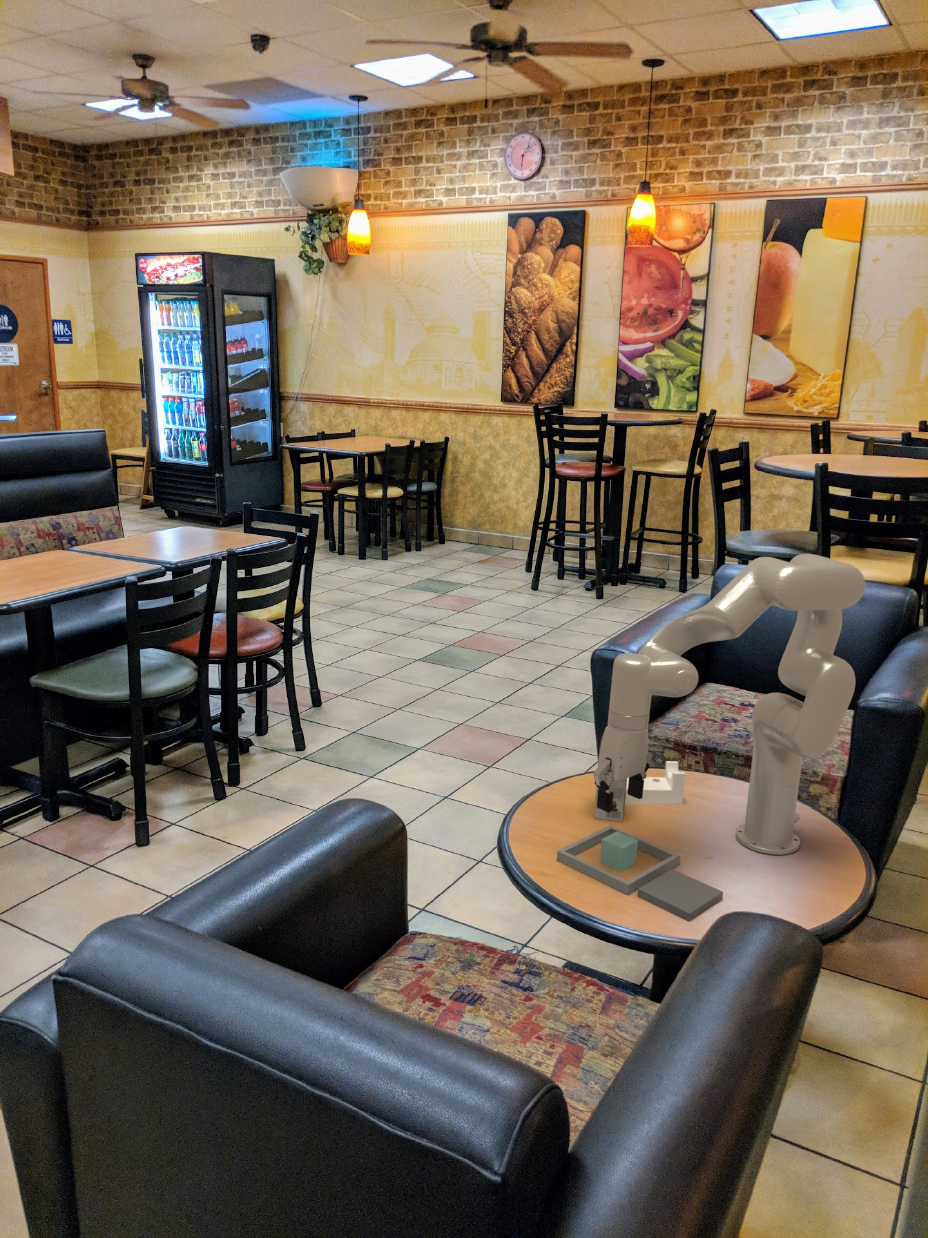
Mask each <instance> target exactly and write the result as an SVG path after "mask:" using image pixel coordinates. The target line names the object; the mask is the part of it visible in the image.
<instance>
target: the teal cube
mask: <svg viewBox="0 0 928 1238" xmlns="http://www.w3.org/2000/svg"><path fill="white" fill-rule="evenodd" d="M600 843H601V844H600V857H599V863H601V864H602V865H605V866H608V867H609V868H612V869H614V870H617V872H620V873H621V872H623V871H625V870H627V869H628V868H630V867H632V866H634V865H636V864H637V858H638V857H637V855H638V849H637V847H638V840H636V839H634V838H631V837H629V836H627V835H624V834H622V833H620V832H618V831H617V832H615V833H613V834H611V835H609V836H607V837H605V838H603V839H602V842H600Z"/></svg>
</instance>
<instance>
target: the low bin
mask: <svg viewBox="0 0 928 1238" xmlns="http://www.w3.org/2000/svg"><path fill="white" fill-rule="evenodd" d="M617 831H618V832H620V833H622V834H624V835H627V836H629V837H631V838H634V839H636V840H638V847H637V850H639V851H642V852H643V853H646V854H648V855H650V856H652V857H654V858H657V859H659V860H662V861H660V862H658V863H656V864H655V865H653V866H651V867H649V868H647V869H646V870H644V871H643V872H640V873H639V874H637V875H635V876H633V877H632V878H630V879H628V880H626V879H624V878H622V877H619V876H617V875H615V874H613V873H611V872H610V871H607V870H604V869H602V868H601V867H599V866H597V865H594V864H592V863H590V862H588V861H586V860H583V859H582V858H579V857H578V856H576V855H579V854H581V852H584V851H586V850H588V849H590V848H592V847H594V846H596V845H598V844H599V843H601V842H602V839H603V838H605V837H607V836H609V835H611V834H613V833H615V832H617ZM556 861H557V862H559V863H561V864H563V865H566V866H568V867H569V868H572V869H574V870H576V871H578V872H580V873H582V874H584V875H586V876H588V877H590V878H592V879H594V880H596V881H598V882H600V883H603V884H604V885H607V886H609V887H611V888H613V889H615V890H616V891H619V892H621V893H623V894H625V895H630V894H631V893H633V892H635V891H638V889H639V888H640V887H642V886H644V885H645V884H647V883H649V882H651V881H652V880H654V879H656V878H658V877H659V876H661V875H663V874H664V873H666V872H668V871H670V870H671V869H673V870H674V868H677V867H678V866H679V865H680V863H681V862H680V861H681V855H680V854H678V853H677V852H676V853H675V851H672V850H669V849H667V848H664V847H663V846H660V845H657V844H655V843H653V842H651V841H648V840H646V839H644V838H642V837H638V836H637V835H634V834H632V833H630V832H628V831H625V830H623V829H620V828H618V827H617V826H614V825H611V824H610V825H608V826H606V827H603V828H602V829H599V830H597V831H595V832H593V833H592V834H589V835H587V836H586V837H585V836H584V837H583V838H581V839H579V840H577V841H575V842H572V843H570V844H569V845H567V846H564V847H562V848H561V849H558V850H557V852H556Z"/></svg>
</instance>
